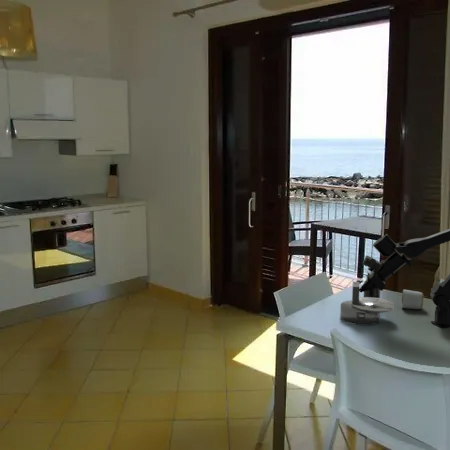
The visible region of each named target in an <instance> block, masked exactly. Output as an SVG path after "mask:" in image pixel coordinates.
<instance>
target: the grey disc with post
mask: <svg viewBox="0 0 450 450" xmlns="http://www.w3.org/2000/svg"><path fill="white" fill-rule="evenodd" d="M359 289H360V281H352V290H351V291H352V292H351V293H352V294H351V300H352V301H351V300H350V301H351V305H352V307H354V308H356V309H358V310H362V311H367V312H378V313H380V314H381V313H389V312H392V311H394V309H395V303H394V302H393V301H392V300H388V299H384V298H382V297H380V298H374V297H364V296H363V297H360V291H359Z"/></svg>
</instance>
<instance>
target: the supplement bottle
mask: <svg viewBox="0 0 450 450" xmlns="http://www.w3.org/2000/svg"><path fill="white" fill-rule="evenodd" d="M365 279H366V280H367V277H366V278H365ZM363 297H374V298H381V290H380V289H379V288H376V289H371V290H368V291H364V292H363Z"/></svg>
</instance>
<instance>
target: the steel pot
mask: <svg viewBox="0 0 450 450" xmlns="http://www.w3.org/2000/svg"><path fill="white" fill-rule="evenodd" d="M351 301H352V299H351V300H346V301H345V300H344V301H342V302H341V303H340V313H339V317H340V319H341V320H342V321H343V322H346V323H349V324H353V325H354V324H355V325H362V326H366V325H367V326H368V325H375V324H378V323H380V321H381V312H380V313H378V312H367V311H362V310H358V309H356V308H354V307H352V305H351Z"/></svg>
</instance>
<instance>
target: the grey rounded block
mask: <svg viewBox="0 0 450 450" xmlns="http://www.w3.org/2000/svg"><path fill="white" fill-rule="evenodd" d="M423 306H424V293H423V292H421V291H416V290H410V289H402V295H401V309H409V310H410V309H411V310H422V309H423Z"/></svg>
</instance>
